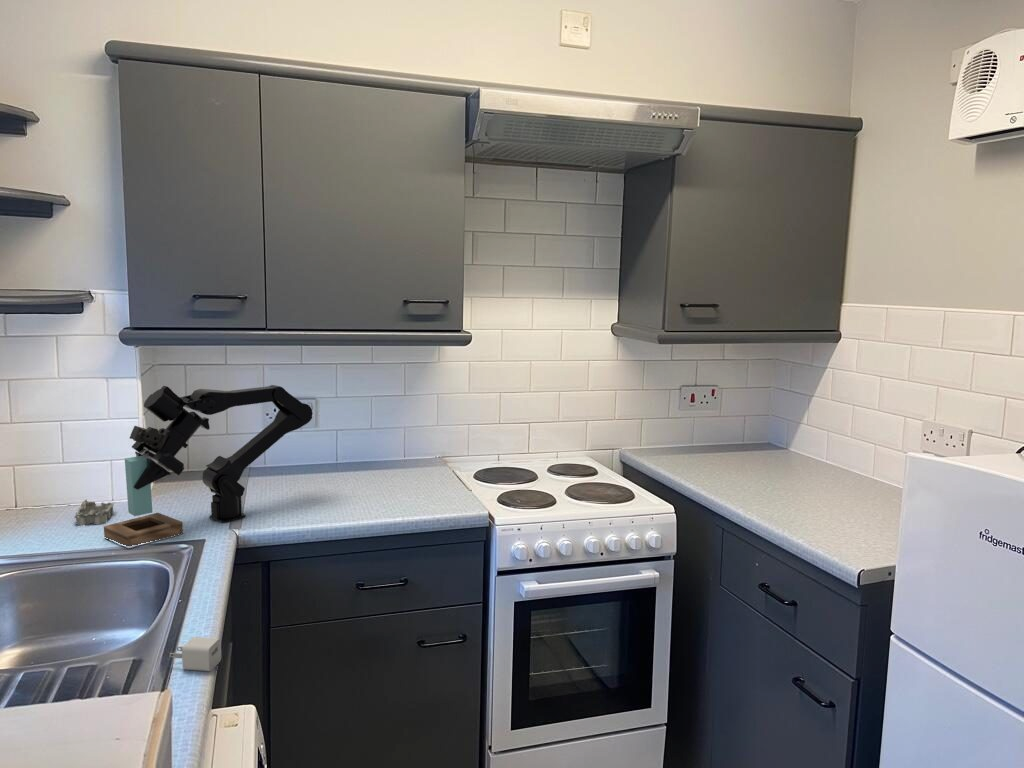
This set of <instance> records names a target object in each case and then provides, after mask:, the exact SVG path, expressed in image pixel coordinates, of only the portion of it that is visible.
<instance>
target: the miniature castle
mask: <svg viewBox="0 0 1024 768" xmlns="http://www.w3.org/2000/svg"><path fill="white" fill-rule="evenodd" d="M115 503H116V502H115V501H114V502H110V501H109V502H107V503H105V502H101V503H100V505H97V503H96V502H95V501H88V499H84V500H83V502H81V504H80V507H79V508H78V510H77V512H75V513H74V519H75V520H76V522H75V524H79V525H78V526H80V525H85V526H87V525H91V524H90V523H94V524H93V525H95V524H100V525H102V524H106V523H105V522H107V523H108V520H109V519H110V518H111V515H114V505H115ZM108 518H109V519H108ZM101 523H102V524H101ZM86 524H87V525H86Z"/></svg>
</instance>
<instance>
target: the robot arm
mask: <svg viewBox="0 0 1024 768" xmlns="http://www.w3.org/2000/svg"><path fill="white" fill-rule="evenodd" d="M271 402H272V404H273V405H274V406H275V407H276V408H277V409H278V411H277V413H276V415H275V417H274V419H273V420H272V422H271V423H269V424H268V425H267V426H266V427H265V428H264V429H262V430H261V431H260V432H259V433H257V434H256V435H255V436H254V437H252V439H250V440H249V441H248V442H247V443H245V444H244V445H243V446H242V447H241V448H239V449H238V450H237V451H236V452H235V453H233V454H232V455H230V456H229V457H228V456H227V457H225V456H221V455H219V456H217V457H216V458H214V460H213V461H212V462H210V463H209V464H206V465H205V467H207V468H205V469H204V470H203V472H202V482H203V485H204V486H206V487H208V488H209V491H210V492H211V493H214V494H213V495H211V496H212V497H211V500H212V501H211V502H210V512H211V514H210V515H209V518H210V519H212V520H215V521H218V522H220V523H228V522H231V521H236V520H238V519H242V518H245V517H246V514H245V513H243V510H242V507H243V506H242V497H243V495H244V492H245V487H244V486H243V485H242V484H240V483H239V481H240V479H241V477H242V475H243V472H244V471H245V470H246V468H248V466H250V465H251V464H252V463H254V462H255V461H256V460H257V459H258V458H259V457H261V456H262V455H263V454H264V453H265V452H266V451H268V450H269V449H270V448H271V447H272V446H273V445H274V444H276V443H277V442H278V441H279V440H280V439H282V438H283V437H284V436H285V435H287V434H288V433H291V432H293V431H297V430H299V429H300V428H302V427H304V426H306V425H307V424H309V423H310V422H311V421H312V420H313V419H312V418H313V408H311V406H310V405H309V404H307V403H303V402H301V400H299V399H298V398H296V397H295V396H294V395H292V394H290V392H288V391H287V390H286V389H285V388H284V387H283V386H281V385H276V384H270V385H268V386H260V387H252V388H243V389H233V390H220V389H219V390H218V389H212V388H210V389H208V388H199V389H198V388H197V389H195V390H193V392H192V393H191V394H188V395H184V396H179V395H177V394H176V393H175V392H174V391H173V390H172V388H170V387H168V386H167V385H163V386H162V387H161V388H159V389H157V390H156V391H154V392H153V393H152V394H149V396H148V397H147V398H146V400H145V401H144V403H143V407H144V408H145V409H146V410H147V411H148V412H150V413H151V414H153V415H154V416H155V417H156V418H158V419H159V420H161V421H162V422H163V423H165V422H168V421H169V422H170V423H169V424H168V425H167V426H166V428H163V427H162V428H159V429H158V428H156V427H155V428H154V427H152V426H148V427H147V428H144V427H142V426H137V425H133V428H132V431H131V433H130V436H129V439H131V440H133V441H134V443H133V444H132V446H131V448H132V449H133V450H135V453H134V455H135V457H137V456H145V457H146V458H147V467H146V469H145V470H144V472H143V473H142V475H141V476H140V478H139V479H138V481H137V482H136V484H135V486H134V488H135V489H137V490H138V489H140V488H142V487H144V486H146V485H148V484H150V483H151V484H152V483H155V482H156V481H158V480H160V479H162V478H164V477H166V476H171V474H172V473H173V474H174V475H176V476H180V475H181V474H182V472H183V471H184V470H185V465H184V463H183V462H182V461H181V460H179V459H178V458H176V456H177V454H178V453H179V452H180V451H181V450H182V449H183V448H184V449H187V447H188V446H189V445H188V443H187V442H189V440H190V439H191V438H192V436H194V434H195V433H196V432H197V431H198V429H200V427H201V428H203V429H204V430H209V431H210V424H209V423H210V422H209V421H210V419H209V418H208V417H201V415H199V414H203V415H206V416H211V415H216V414H219V413H222V412H225V411H226V410H228V409H230V408H231V409H232V408H234V407H242V406H249V405H257V404H263V403H271ZM184 407H185V408H187V409H190V410H192V411H188V410H187V409H185V408H184ZM196 412H197V413H196ZM198 413H199V414H198ZM170 471H172V473H171V472H170Z"/></svg>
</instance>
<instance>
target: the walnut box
mask: <svg viewBox="0 0 1024 768" xmlns="http://www.w3.org/2000/svg"><path fill="white" fill-rule="evenodd" d="M183 525H184V523H183V521H182V520H179V519H176V518H173V517H171V516H169V515H166V514H162V513H161V512H155V513H149V514H147V515H146V514H145V515H141V516H139V517H134V518H131V519H127V520H122V521H120V522H114V523H112V524H108V525H104V526H103V534H104V535H103V536H104V537H106V538H108V539H111V540H114V541H116V542H118V543H120V544H123V545H126V546H132V545H138V544H141V543H146V542H150V541H155V540H159V539H163V538H167V537H170V538H172V537H171V536H174V535H177V536H179V535H178V534H181V533H183V534H184V529H183V527H184V526H183ZM181 535H182V534H181ZM174 537H175V536H174ZM167 539H168V538H167ZM163 540H164V539H163Z"/></svg>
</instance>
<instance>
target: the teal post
mask: <svg viewBox="0 0 1024 768" xmlns="http://www.w3.org/2000/svg"><path fill="white" fill-rule="evenodd" d="M146 467H147V458H146V457H145V456H137V457H136V456H132V457H126V458H124V468H125V469H124V470H125V471H124V472H125V480H126V481H125V482H126V484H125V485H126V496H127V507H128V513H129V514H130V515H132V516H133V517H137V516H139V517H140V516H144V515H146V514H147V515H149V514H154V513H153V501H152V500H153V499H152V486H151V484H152V483H150V484H148V485H146V486H144V487H142V488H140V489H138V490H137V489H135V488H134V486H135V484H136V482H137V481H138V479H139V478H140V476H141V475H142V473H143V472H144V470H145V469H146Z"/></svg>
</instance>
